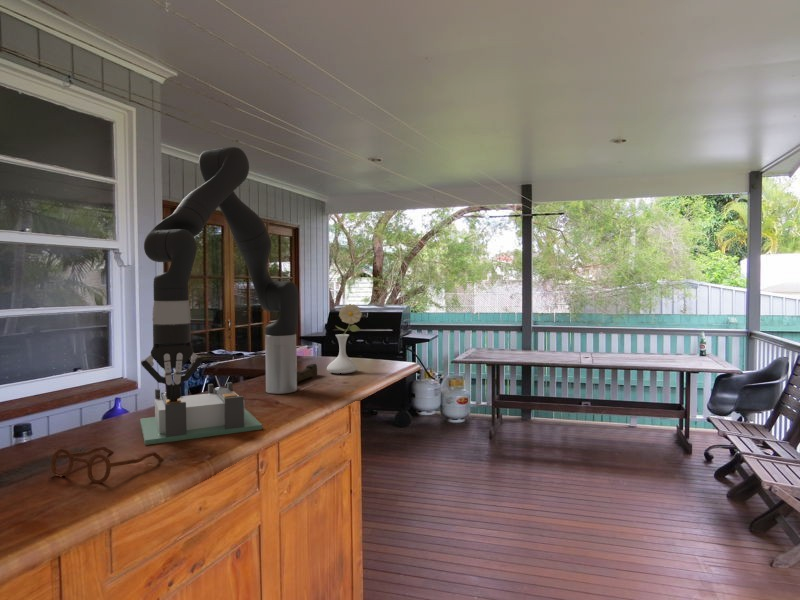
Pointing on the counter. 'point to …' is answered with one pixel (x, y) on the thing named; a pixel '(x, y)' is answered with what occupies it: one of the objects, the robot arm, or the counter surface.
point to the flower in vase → (342, 361)
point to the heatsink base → (197, 417)
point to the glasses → (90, 462)
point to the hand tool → (307, 372)
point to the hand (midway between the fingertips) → (173, 401)
